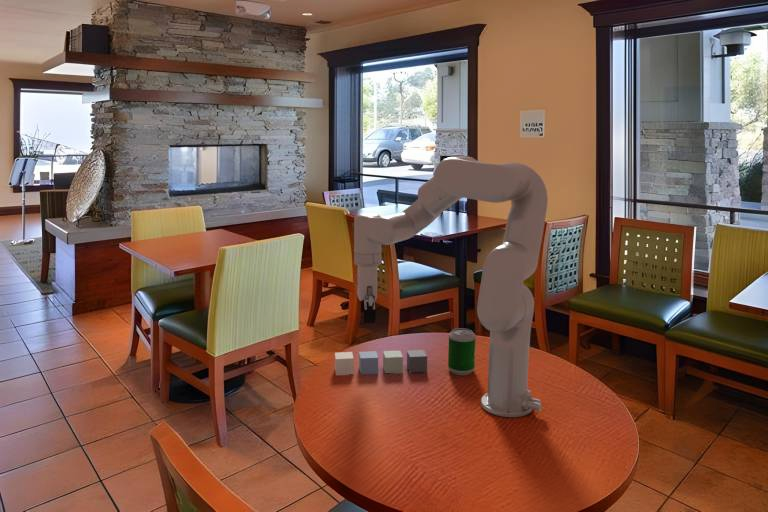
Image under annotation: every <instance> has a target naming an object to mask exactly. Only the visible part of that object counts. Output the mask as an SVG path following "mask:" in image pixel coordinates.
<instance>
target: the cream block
mask: <svg viewBox="0 0 768 512" xmlns="http://www.w3.org/2000/svg"><path fill="white" fill-rule="evenodd" d="M354 364H355V363H354V354H353V351H342V352H341V351H339V352H334V370H335V371H334V372H335V376H350V375H349V374H354V368H355V367H354Z"/></svg>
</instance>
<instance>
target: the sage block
mask: <svg viewBox="0 0 768 512" xmlns="http://www.w3.org/2000/svg"><path fill="white" fill-rule="evenodd" d="M382 361H383V362H382V363H383V365H382V367H384V368H383V371H384V374H385V373H395V374H403V373H404V371H403V370H404V369H403V367H404V363H403V362H404V356H403V354H402V351H401V350H383V352H382ZM402 372H403V373H402Z"/></svg>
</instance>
